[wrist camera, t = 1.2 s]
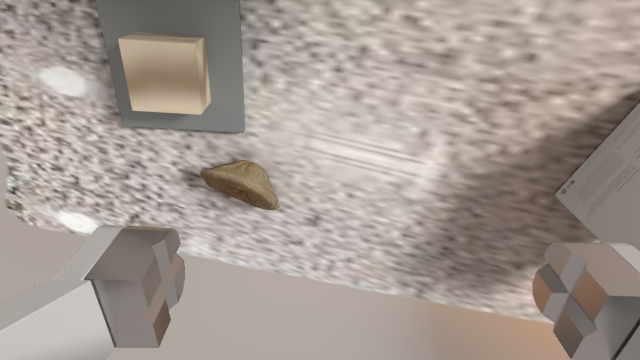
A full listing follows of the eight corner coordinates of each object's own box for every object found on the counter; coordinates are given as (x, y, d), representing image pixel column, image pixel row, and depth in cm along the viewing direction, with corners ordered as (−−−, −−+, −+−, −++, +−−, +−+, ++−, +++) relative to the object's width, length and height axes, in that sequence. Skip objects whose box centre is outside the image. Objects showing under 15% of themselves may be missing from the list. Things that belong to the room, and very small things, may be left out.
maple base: (136, 31, 38) (117, 38, 35) (205, 36, 38) (193, 43, 35) (148, 98, 42) (132, 110, 38) (210, 102, 42) (200, 114, 38)
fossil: (190, 169, 41) (275, 199, 40) (207, 135, 42) (289, 164, 42) (208, 193, 49) (279, 218, 49) (222, 164, 51) (291, 188, 50)
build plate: (98, -10, 37) (93, -9, 36) (239, 0, 38) (237, 1, 37) (126, 122, 44) (122, 125, 43) (245, 129, 45) (243, 132, 44)
